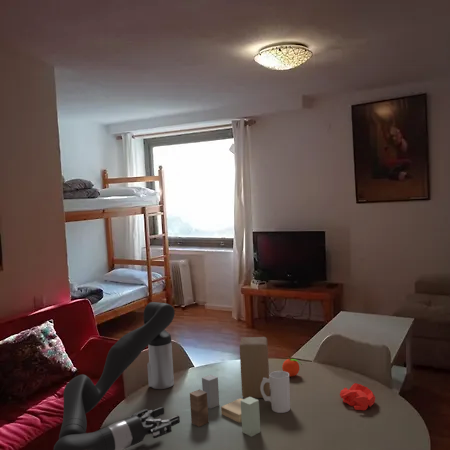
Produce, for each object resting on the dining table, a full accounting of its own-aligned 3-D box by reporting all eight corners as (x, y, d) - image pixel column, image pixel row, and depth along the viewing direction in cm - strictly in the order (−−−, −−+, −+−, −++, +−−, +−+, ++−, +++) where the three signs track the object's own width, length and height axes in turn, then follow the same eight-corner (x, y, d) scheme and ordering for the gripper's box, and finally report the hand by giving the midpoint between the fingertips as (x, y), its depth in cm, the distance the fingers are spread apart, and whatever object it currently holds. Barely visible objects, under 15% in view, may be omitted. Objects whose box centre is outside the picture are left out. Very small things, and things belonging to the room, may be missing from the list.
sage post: (251, 436, 138) (249, 404, 137) (242, 432, 141) (240, 400, 140) (260, 431, 140) (258, 400, 140) (251, 427, 143) (249, 396, 143)
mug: (290, 404, 158) (289, 370, 157) (291, 413, 151) (289, 378, 151) (262, 404, 159) (260, 370, 159) (260, 413, 153) (259, 378, 152)
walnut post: (198, 427, 145) (197, 396, 145) (191, 423, 148) (189, 393, 148) (208, 422, 148) (206, 392, 148) (201, 418, 151) (199, 389, 151)
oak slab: (239, 424, 147) (239, 415, 147) (221, 415, 154) (221, 406, 153) (259, 414, 153) (258, 405, 153) (241, 406, 159) (240, 398, 159)
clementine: (303, 373, 186) (302, 356, 186) (302, 379, 179) (301, 362, 179) (283, 372, 188) (282, 355, 187) (281, 379, 181) (280, 361, 181)
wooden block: (269, 387, 173) (267, 336, 172) (269, 398, 163) (267, 344, 162) (243, 387, 174) (240, 336, 173) (242, 399, 164) (239, 344, 163)
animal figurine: (368, 392, 165) (368, 379, 165) (379, 411, 150) (378, 395, 150) (336, 393, 166) (335, 379, 166) (343, 411, 151) (343, 396, 151)
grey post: (210, 408, 158) (208, 380, 158) (203, 405, 161) (201, 377, 161) (219, 405, 161) (217, 377, 160) (212, 401, 164) (210, 374, 163)
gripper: (113, 437, 136) (159, 418, 146) (137, 456, 125) (185, 434, 135) (111, 413, 135) (157, 396, 146) (135, 429, 124) (183, 409, 135)
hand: (171, 414), depth 141 cm, fingers open, 8 cm apart
